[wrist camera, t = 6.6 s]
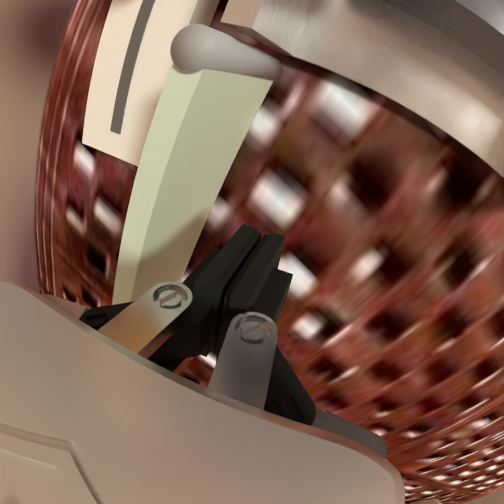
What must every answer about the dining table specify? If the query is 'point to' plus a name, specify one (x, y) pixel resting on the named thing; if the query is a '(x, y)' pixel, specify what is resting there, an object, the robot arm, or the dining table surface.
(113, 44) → the fader panel
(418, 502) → the pitcher
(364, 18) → the grey open tray
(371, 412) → the dining table surface
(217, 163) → the door
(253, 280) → the robot arm
